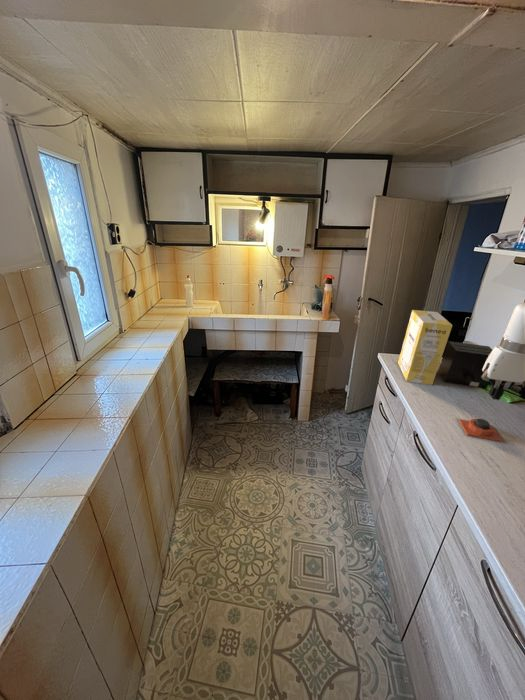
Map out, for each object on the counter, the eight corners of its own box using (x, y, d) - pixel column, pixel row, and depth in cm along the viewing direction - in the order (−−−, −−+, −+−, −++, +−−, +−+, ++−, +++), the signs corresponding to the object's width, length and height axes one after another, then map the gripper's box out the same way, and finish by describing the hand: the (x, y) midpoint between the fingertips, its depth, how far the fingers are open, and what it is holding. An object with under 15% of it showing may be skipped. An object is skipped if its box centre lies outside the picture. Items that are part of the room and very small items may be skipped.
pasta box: (397, 364, 140) (412, 309, 128) (420, 367, 138) (437, 312, 126) (405, 382, 124) (423, 322, 112) (431, 386, 122) (452, 325, 110)
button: (485, 424, 95) (487, 419, 94) (489, 430, 92) (491, 426, 91) (473, 421, 96) (475, 417, 95) (477, 428, 93) (479, 424, 92)
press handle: (472, 379, 120) (473, 375, 119) (477, 386, 115) (479, 382, 114) (464, 378, 121) (465, 374, 120) (469, 385, 115) (471, 381, 115)
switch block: (490, 427, 97) (493, 421, 96) (501, 443, 90) (504, 436, 89) (458, 421, 100) (460, 415, 99) (466, 436, 93) (469, 429, 92)
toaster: (476, 377, 130) (489, 346, 123) (486, 390, 120) (500, 356, 113) (437, 371, 134) (448, 340, 127) (444, 383, 124) (456, 350, 117)
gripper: (539, 344, 85) (515, 395, 92) (482, 338, 88) (463, 387, 96) (555, 354, 78) (527, 408, 86) (493, 347, 82) (472, 399, 89)
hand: (493, 397), depth 91 cm, fingers closed
